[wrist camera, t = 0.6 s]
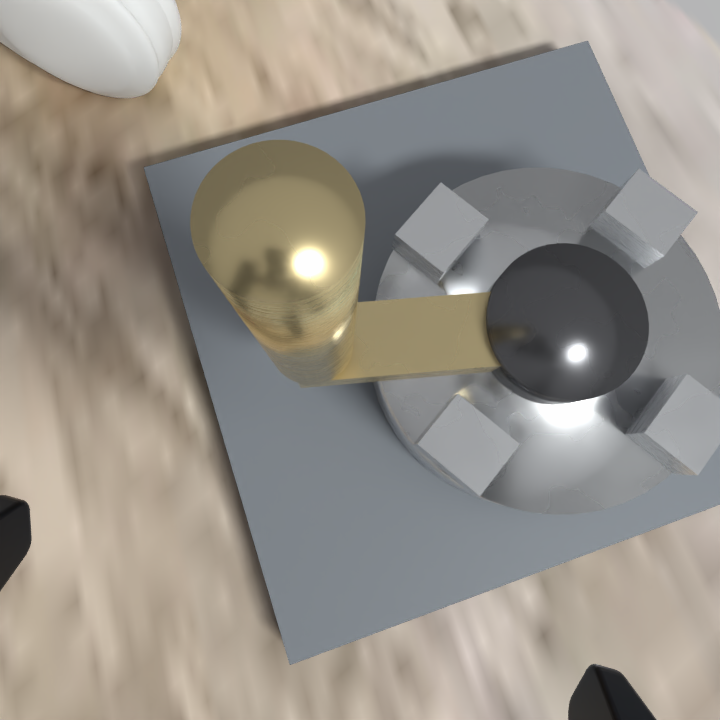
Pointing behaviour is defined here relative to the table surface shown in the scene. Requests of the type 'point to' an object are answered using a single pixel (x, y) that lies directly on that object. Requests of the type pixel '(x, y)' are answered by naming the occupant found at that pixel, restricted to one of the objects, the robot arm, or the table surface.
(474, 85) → the housing plate
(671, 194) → the brass lever assembly
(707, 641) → the table surface
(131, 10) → the headphones
